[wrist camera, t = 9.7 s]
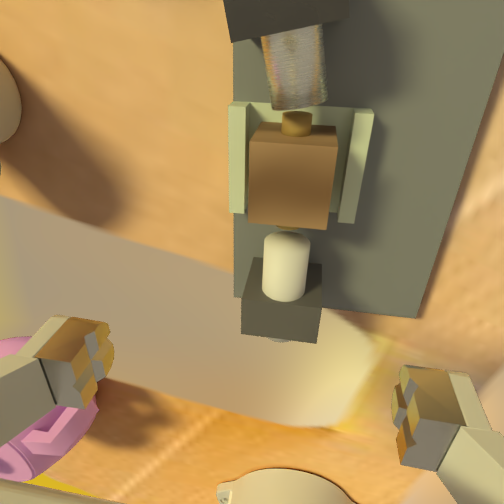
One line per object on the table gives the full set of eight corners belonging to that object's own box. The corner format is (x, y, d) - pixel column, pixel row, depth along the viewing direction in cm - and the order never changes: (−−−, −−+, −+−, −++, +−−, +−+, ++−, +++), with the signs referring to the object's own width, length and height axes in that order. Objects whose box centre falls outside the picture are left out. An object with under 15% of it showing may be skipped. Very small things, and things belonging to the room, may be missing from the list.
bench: (412, 308, 30) (431, 370, 24) (236, 288, 31) (219, 341, 26) (531, -65, 18) (619, -99, 12) (237, -65, 19) (206, -96, 14)
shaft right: (347, 84, 21) (353, 100, 17) (259, 99, 22) (245, 118, 18) (338, -76, 18) (343, -106, 13) (235, -49, 19) (210, -68, 15)
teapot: (-64, 338, 42) (-175, 430, 32) (87, 316, 36) (4, 421, 27) (7, 415, 48) (-70, 511, 38) (144, 407, 42) (94, 518, 33)
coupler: (262, 103, 22) (249, 120, 18) (337, 108, 22) (341, 126, 18) (258, 206, 26) (247, 238, 22) (323, 212, 25) (324, 245, 21)
